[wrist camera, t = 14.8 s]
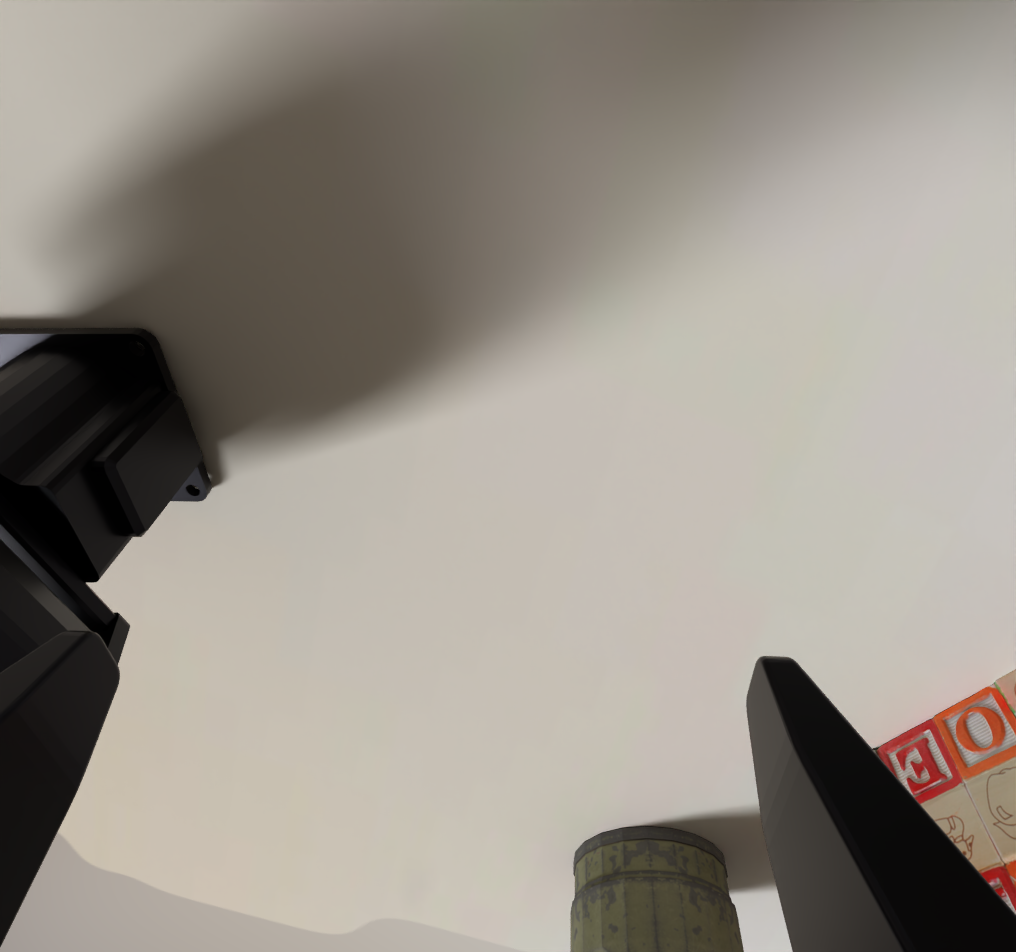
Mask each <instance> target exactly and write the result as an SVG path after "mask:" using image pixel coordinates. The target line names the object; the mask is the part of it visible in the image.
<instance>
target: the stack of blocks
mask: <svg viewBox="0 0 1016 952" xmlns="http://www.w3.org/2000/svg"><path fill="white" fill-rule="evenodd" d="M873 751H874V752H875V753H876V754H877V755H878V756H879V758H880V759H881V760H882V761H883V762H884V763H885V764H886V766H887V767H888V768H889V769H890V770H891V771H892V773H893V774H894V775H895V776H896V777H897V778H898V779H899V781H900V782H901V783H902V784H903V785H904V786H905V787H906V789H907V790H908V791H909V792H910V793H911V794H912V796H913V797H914V798H915V799H916V800H917V801H918V802H919V804H920V805H921V806H922V807H923V808H924V809H925V810H926V812H927V813H928V814H929V815H930V816H931V817H932V819H933V820H934V821H935V822H936V823H937V824H938V825H939V827H940V828H941V829H942V830H943V831H944V832H945V833H946V835H947V836H948V837H949V838H950V839H951V840H952V842H953V843H954V844H955V845H956V846H957V847H958V848H959V850H960V851H961V852H962V853H963V854H964V855H965V856H966V858H967V859H968V860H969V861H970V862H971V863H972V865H973V866H974V867H975V868H976V869H977V870H978V871H979V873H980V874H981V875H982V876H983V877H984V878H985V880H986V881H987V882H988V883H989V884H990V885H991V886H992V888H993V889H994V890H995V891H996V892H997V893H998V894H999V896H1000V897H1001V898H1002V899H1003V900H1004V901H1005V903H1006V904H1007V905H1008V906H1009V907H1010V908H1011V909H1012V911H1013V912H1014V913H1015V914H1016V670H1014V671H1012V672H1010V673H1008V674H1007V675H1005V676H1003V677H1001V678H999V679H998V680H996V681H995V683H994V684H992V685H991V686H989V687H986V688H984V689H982V690H981V691H979V692H978V693H976V694H974V695H973V696H971V697H969V698H967V699H965V700H963V701H961V702H959V703H957V704H956V705H954V706H952V707H951V708H949V709H947V710H945V711H943V712H941V713H939V714H937V715H936V716H935V717H934V718H933V719H931V720H928V721H926V722H924V723H922V724H920V725H919V726H917V727H915V728H913V729H911V730H909V731H907V732H906V733H904V734H902V735H900V736H898V737H897V738H895V739H893V740H891V741H889V742H888V743H886V744H884V745H882V746H880V747H879V748H878V749H877V750H873Z"/></svg>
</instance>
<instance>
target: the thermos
mask: <svg viewBox="0 0 1016 952" xmlns="http://www.w3.org/2000/svg"><path fill="white" fill-rule="evenodd" d="M574 876H575V898H574V901H573V902H572V908H571V952H744V950H743V945H742V939H741V933H740V928H739V922H738V917H737V912H736V908H735V905H734V904H733V903H732V901H731V898H730V896H729V890H728V884H727V877H728V876H727V871H726V865H725V861H724V857H723V854H722V853H721V852H720V851H719V850H718V849H717V848H716V847H715V846H714V845H713V844H712V843H711V842H709V841H707V840H705V839H703V838H701V837H699V836H697V835H695V834H691V833H687V832H683V831H680V830H676V829H671V828H660V827H648V826H646V827H632V828H621V829H617V830H613V831H609V832H605V833H601V834H599V835H597V836H595V837H593V838H591V839H589V840H587V841H585V842H584V843H583V844H582V845H581V846H580V847H579V849H578V850H577V851H576V852H575V857H574Z"/></svg>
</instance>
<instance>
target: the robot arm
mask: <svg viewBox="0 0 1016 952" xmlns="http://www.w3.org/2000/svg"><path fill="white" fill-rule="evenodd" d="M136 342H139V343H141V344H142V345H143V346H144V348H145V350H142V349H140V348H139V347H138V346H137V344H136ZM202 459H203V456H202V453H201V451H200V448H199V445H198V442H197V440H196V437H195V434H194V432H193V429H192V426H191V424H190V421H189V418H188V415H187V413H186V410H185V407H184V405H183V402H182V399H181V398H180V396H179V395H178V393H177V391H176V388H175V385H174V383H173V380H172V377H171V375H170V372H169V369H168V366H167V364H166V361H165V358H164V356H163V353H162V350H161V348H160V345H159V343H158V341H157V339H156V337H155V336H153V335H152V334H151V333H150V332H148V331H146V330H144V329H139V328H82V329H0V947H1V945H2V943H3V941H4V939H5V937H6V935H7V933H8V931H9V929H10V926H11V925H12V923H13V921H14V919H15V917H16V915H17V913H18V911H19V909H20V907H21V905H22V902H23V900H24V898H25V896H26V894H27V892H28V890H29V888H30V886H31V884H32V882H33V880H34V878H35V876H36V874H37V872H38V870H39V868H40V866H41V864H42V862H43V860H44V858H45V856H46V854H47V852H48V850H49V848H50V846H51V844H52V842H53V840H54V838H55V836H56V834H57V832H58V830H59V828H60V826H61V824H62V822H63V820H64V818H65V816H66V814H67V812H68V810H69V808H70V806H71V803H72V801H73V799H74V797H75V795H76V793H77V791H78V788H79V786H80V783H81V781H82V779H83V776H84V774H85V771H86V769H87V766H88V763H89V761H90V758H91V756H92V753H93V750H94V748H95V745H96V742H97V740H98V737H99V735H100V732H101V729H102V727H103V724H104V721H105V719H106V716H107V714H108V711H109V708H110V706H111V703H112V700H113V698H114V695H115V693H116V690H117V687H118V684H119V679H120V671H119V667H118V663H119V660H120V656H121V653H122V650H123V647H124V644H125V641H126V638H127V635H128V631H129V628H130V625H129V624H128V623H127V622H126V620H125V619H124V618H123V617H122V616H121V615H120V614H119V613H113V612H112V611H111V610H110V608H109V607H108V606H107V605H106V604H105V603H104V602H103V601H102V600H101V599H100V598H99V597H98V596H97V595H96V594H95V592H94V591H93V590H92V589H91V588H90V587H89V586H88V585H87V584H86V583H85V582H97V581H98V580H99V579H100V578H101V576H102V575H103V574H104V573H105V571H106V570H107V569H108V567H109V566H110V565H111V564H112V562H113V561H114V560H115V559H116V557H117V556H118V555H119V554H120V552H121V551H122V550H123V549H124V547H125V546H126V545H127V543H128V542H129V541H130V540H131V538H132V537H141V536H143V535H144V534H145V533H146V531H147V530H148V529H149V528H150V526H151V525H152V524H153V523H154V521H155V520H156V519H157V517H158V516H159V515H160V513H161V512H162V511H163V510H164V508H165V507H166V506H167V504H168V503H169V502H170V501H202V500H204V499H205V498H206V497H207V495H208V494H209V493H210V491H211V489H212V486H211V482H210V479H209V477H208V474H207V471H206V469H205V466H204V463H203V461H202ZM192 485H194V486H196V487H198V489H196V488H195V487H193V486H192ZM746 706H747V717H748V725H749V732H750V739H751V747H752V754H753V762H754V769H755V777H756V784H757V791H758V799H759V806H760V813H761V820H762V826H763V832H764V836H765V841H766V845H767V850H768V854H769V858H770V862H771V866H772V870H773V874H774V878H775V882H776V886H777V890H778V894H779V898H780V902H781V906H782V910H783V914H784V918H785V922H786V926H787V930H788V934H789V938H790V942H791V946H792V950H793V952H1016V914H1015V913H1014V912H1013V911H1012V909H1011V908H1010V907H1009V906H1008V905H1007V904H1006V903H1005V901H1004V900H1003V899H1002V898H1001V897H1000V896H999V894H998V893H997V892H996V891H995V890H994V889H993V888H992V886H991V885H990V884H989V883H988V882H987V881H986V880H985V878H984V877H983V876H982V875H981V874H980V873H979V871H978V870H977V869H976V868H975V867H974V866H973V865H972V863H971V862H970V861H969V860H968V859H967V858H966V856H965V855H964V854H963V853H962V852H961V851H960V850H959V848H958V847H957V846H956V845H955V844H954V843H953V842H952V840H951V839H950V838H949V837H948V836H947V835H946V833H945V832H944V831H943V830H942V829H941V828H940V827H939V825H938V824H937V823H936V822H935V821H934V820H933V819H932V817H931V816H930V815H929V814H928V813H927V812H926V810H925V809H924V808H923V807H922V806H921V805H920V804H919V802H918V801H917V800H916V799H915V798H914V797H913V796H912V794H911V793H910V792H909V791H908V790H907V789H906V787H905V786H904V785H903V784H902V783H901V782H900V781H899V779H898V778H897V777H896V776H895V775H894V774H893V773H892V771H891V770H890V769H889V768H888V767H887V766H886V764H885V763H884V762H883V761H882V760H881V759H880V758H879V756H878V755H877V754H876V753H875V752H874V751H873V750H872V748H871V747H870V746H869V745H868V744H867V743H866V741H865V740H864V739H863V738H862V737H861V736H860V735H859V733H858V732H857V731H856V730H855V729H854V728H853V727H852V725H851V724H850V723H849V722H848V721H847V720H846V718H845V717H844V716H843V715H842V714H841V713H840V712H839V710H838V709H837V708H836V707H835V706H834V705H833V704H832V702H831V701H830V700H829V699H828V698H827V697H826V695H825V694H824V693H823V692H822V691H821V690H820V689H819V687H818V686H817V685H816V684H815V683H814V682H813V681H812V679H811V678H810V677H809V676H808V675H807V674H806V672H805V671H804V670H803V669H802V668H801V667H800V666H799V664H798V663H797V662H796V661H794V660H793V659H791V658H789V657H776V656H762V657H760V658H759V659H758V660H757V662H756V664H755V668H754V672H753V675H752V679H751V683H750V686H749V690H748V694H747V704H746Z"/></svg>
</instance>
